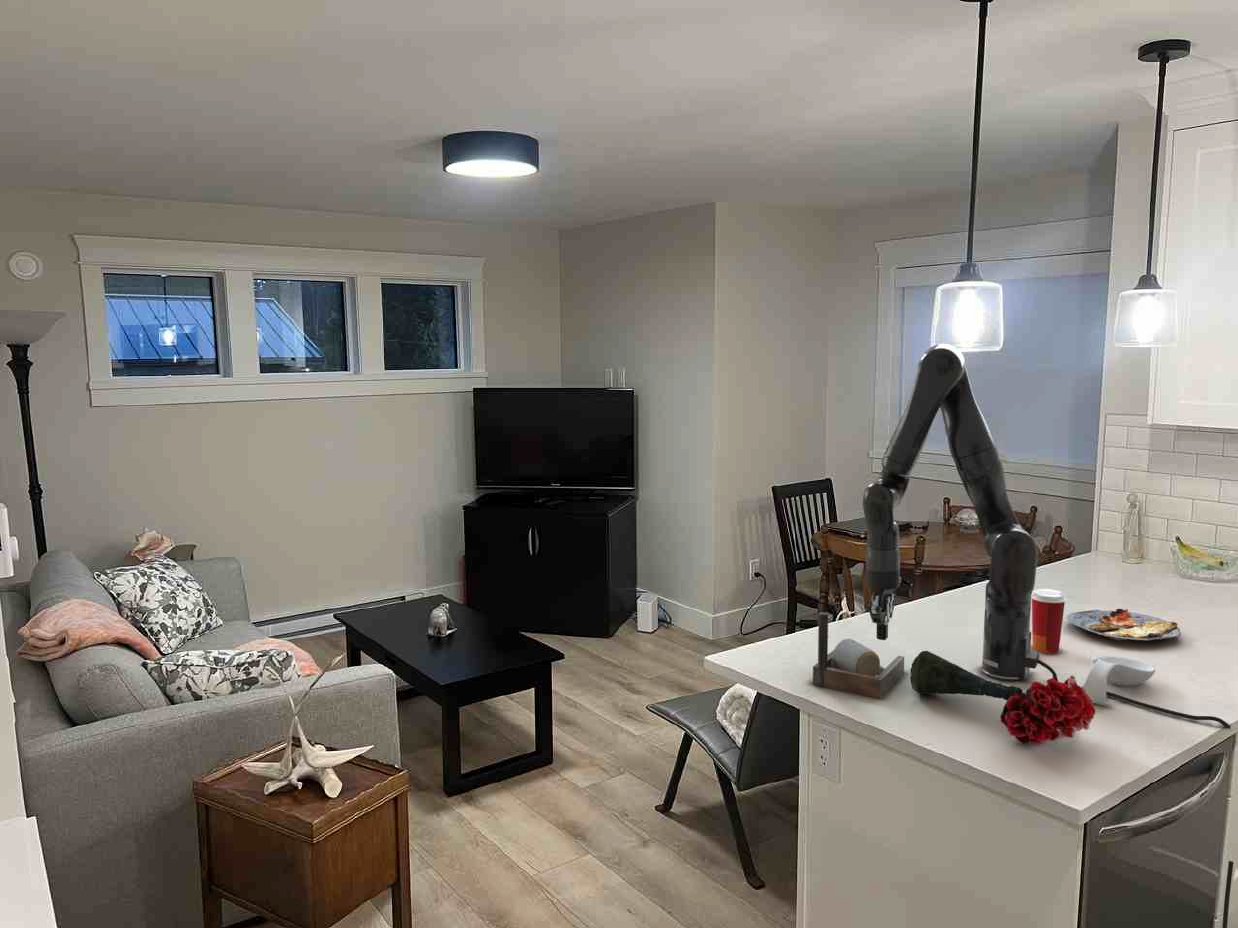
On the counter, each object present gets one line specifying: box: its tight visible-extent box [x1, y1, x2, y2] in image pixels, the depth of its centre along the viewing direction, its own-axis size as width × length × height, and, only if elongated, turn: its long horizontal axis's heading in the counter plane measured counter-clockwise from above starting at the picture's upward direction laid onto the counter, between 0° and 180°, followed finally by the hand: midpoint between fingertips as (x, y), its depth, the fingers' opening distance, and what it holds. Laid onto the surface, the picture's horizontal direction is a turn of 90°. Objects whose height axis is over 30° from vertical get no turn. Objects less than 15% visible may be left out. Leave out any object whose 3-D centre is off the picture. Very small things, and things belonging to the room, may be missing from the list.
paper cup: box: [1031, 588, 1067, 655], centre depth 213 cm, size 8×8×14 cm
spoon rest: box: [1083, 655, 1156, 706], centre depth 190 cm, size 24×12×7 cm, turn 135°
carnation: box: [909, 650, 1097, 745], centre depth 174 cm, size 16×18×35 cm
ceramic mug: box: [832, 638, 885, 677], centre depth 199 cm, size 11×8×8 cm
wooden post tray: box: [812, 611, 905, 699], centre depth 196 cm, size 15×17×16 cm
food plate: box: [1065, 608, 1182, 641], centre depth 226 cm, size 25×23×4 cm
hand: (882, 638), depth 209 cm, fingers closed
